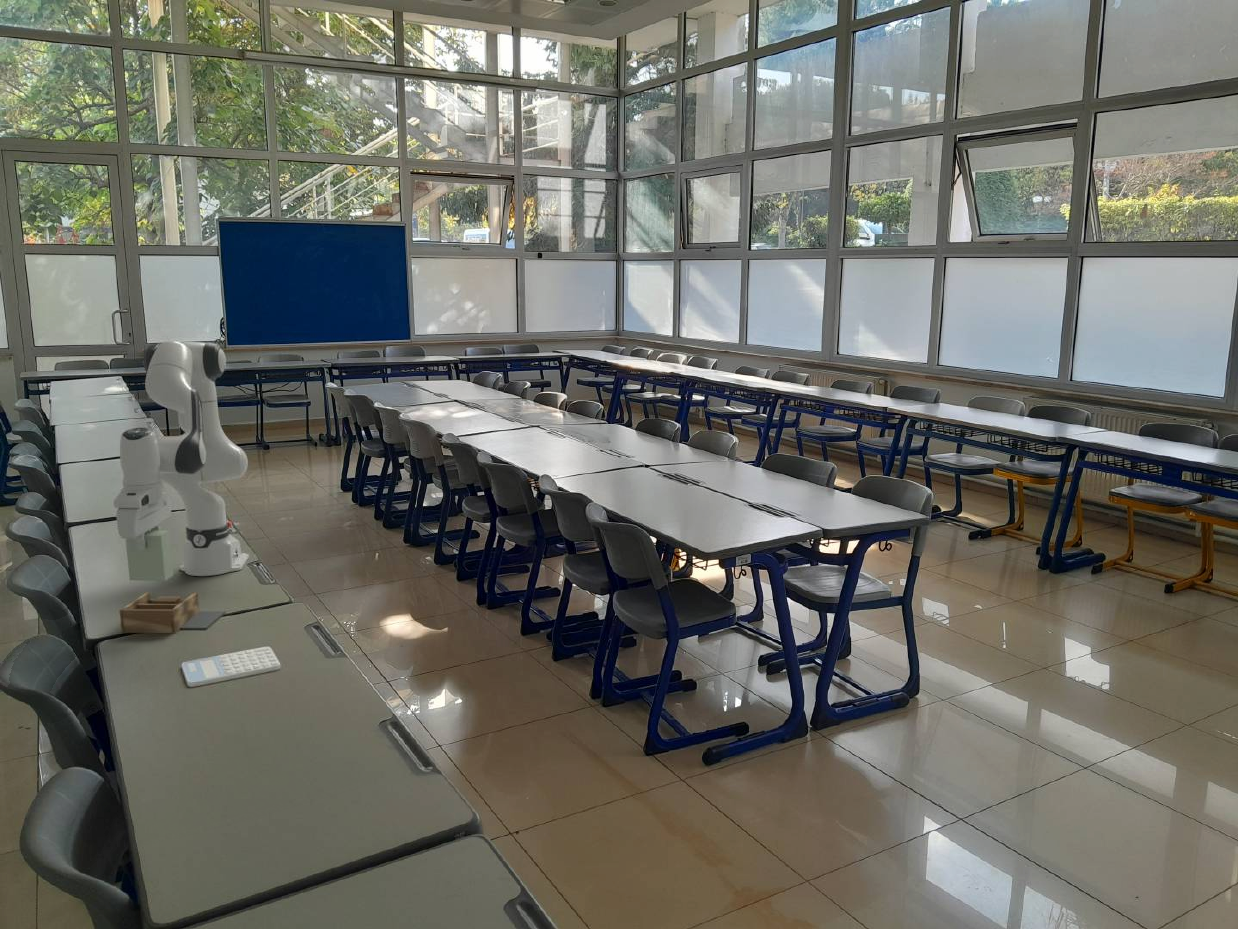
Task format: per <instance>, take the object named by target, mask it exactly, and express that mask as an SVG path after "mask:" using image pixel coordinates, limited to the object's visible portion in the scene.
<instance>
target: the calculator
mask: <svg viewBox="0 0 1238 929" xmlns="http://www.w3.org/2000/svg"><path fill="white" fill-rule="evenodd" d="M281 667H282V666H281V662H280V661H279V659H278V658H277V656H276V654H275V653H274V650H273V649H272V648H271V647H270V646H262V647H257V648H250V649H246V650H240V651H236V652H230V653H226V654H225V653H224V654H219V655H215V656H209V657H205V658H204V657H203V658H198V659H197V658H196V659H193V660H188V661H184V662H182V663H181V669H182V670H181V671H182V674H183V676H184V679H185V682H186V685H187V686H188V687H190V688H193V687H199V686H204V685H209V684H215V683H219V682H224V681H225V682H226V681H229V680H234V679H239V678H245V677H248V676H249V677H250V676H253V675H254V676H255V675H259V674H264V673H269V672H274V671H278V669H279V670H280V669H281Z"/></svg>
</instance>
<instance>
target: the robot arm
mask: <svg viewBox="0 0 1238 929" xmlns="http://www.w3.org/2000/svg"><path fill="white" fill-rule="evenodd" d="M142 362H143V368H144V370H145V372H146V376H145V391H146V393H147V396H149V399H151V400H153V402H155V403H156V404H158V405H159V406H161V407H164V408H166V409H170V410H172V411H176V412H177V415H178V416H177V417H178V425H179V427H180V429H181V430H182V431H183V432H184V433H183V434H180V435H176V436H175V435H167V436H166V435H165V436H158V435H156V433H155V431H154V430H153V429H152V428H148V427H134V428H130V429H127V430H125V431H124V432H122V433H121V435H120V442H119V445H120V446H119V458H120V459H119V461H120V468H121V470H122V472H123V478H122V489H121V490H120V492H119V493H118V494H117V496H116V497H115V498H114V499H113V506H114V508H116V509H117V510H116V514H115V515H116V518H115V519H116V524H117V532H118V535H119V536H120V537H121V539H125V540H126V539H133V538H134V539H135V541H136V542H137V546H138V549H139V550H144V549H146V548H147V547H148V546H147V541H145V539H144V536H145V532H147V531H148V530H153V531H161V524H162V523H164V522H166V521H168V520H169V519H170V518H171V517H172V508H171V503H170V497H169V494H168V493H167V492H166V489H165V488H164V487H163V483H165V484H166V485H168V486H170V487H171V488H172V489H174V491H176V492H177V494H178V495H179V496H180V498H181V500H182V502H183V506H184V510H185V517H186V518H185V519H186V524H187V525H186V527H185V535H186V540H187V541H186V542H184V543H183V545H182V546H183V549H182V552H183V553H182V554H183V555H182V556H183V557H182V558H183V559H182V560H183V561H182V562H183V563H182V565H179V570H180V571H182V572H184V573H185V574H187V575H188V576H193V577H194V576H197V577H209V576H216V575H217V576H218V575H222V574H225V573H230V572H236V571H241V570H242V569H243V567H244V566H245V564H246V562H247V561H248V560H249V558H250V556H249V555H250V554H249V553H245V552H242V550H241V542H240V541H239V540H238V539H237V538H235V537H234V536H233V535H231V530H230V528H231V529H232V527H233V523H232V521H227V516H226V514H227V513H226V512H227V511H226V503H225V501H224V499H223V498H222V497H221V496H220V495H219V494H217V493H214V492H212V491H209V490H207V489H205V488H204V487H203V486H202V484H203V483H209V482H210V483H214V482H226V481H232V480H235V479H240V478H242V477H243V476H244V474H245V473H246V472H247V470H248V466H249V459H248V456H247V454H246V452H245V451H244V449H242V448H241V447H240V446H238V445H237V444H235V443H234V442H232V441H231V440H230V439H229V437H227V435H226V434H225V432H224V430H223V428H222V425H221V421H220V415H219V408H218V407H219V406H218V395H217V394H218V393H217V387H216V380H217V379H218V378H220V377H221V376H222V375H223V374H224V373H225V370H226V365H227V357H226V353H225V351H224V349H223V348H222V347H221V345H220V344H218V343H215V342H208V341H207V342H200V341H182V342H180V341H177V340H168V341H163V342H161V343H160V342H159V343H154V344H150V345H149V346H148V347H146V349H145V350H144V353H143V359H142Z"/></svg>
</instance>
